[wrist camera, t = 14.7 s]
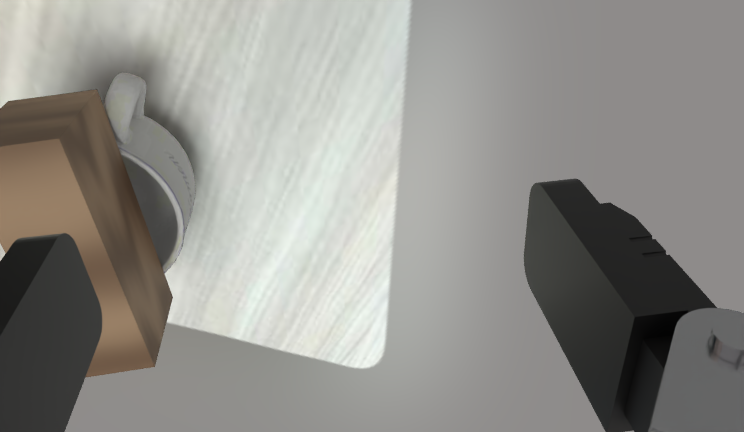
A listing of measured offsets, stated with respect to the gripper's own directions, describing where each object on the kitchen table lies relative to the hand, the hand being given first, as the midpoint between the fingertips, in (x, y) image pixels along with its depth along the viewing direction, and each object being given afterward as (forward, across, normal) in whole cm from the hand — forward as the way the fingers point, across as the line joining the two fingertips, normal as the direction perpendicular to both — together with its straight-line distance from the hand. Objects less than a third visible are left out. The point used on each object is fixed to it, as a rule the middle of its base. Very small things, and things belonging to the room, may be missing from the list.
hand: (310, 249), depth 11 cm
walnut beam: (+22, +13, +11) cm, 28 cm away
